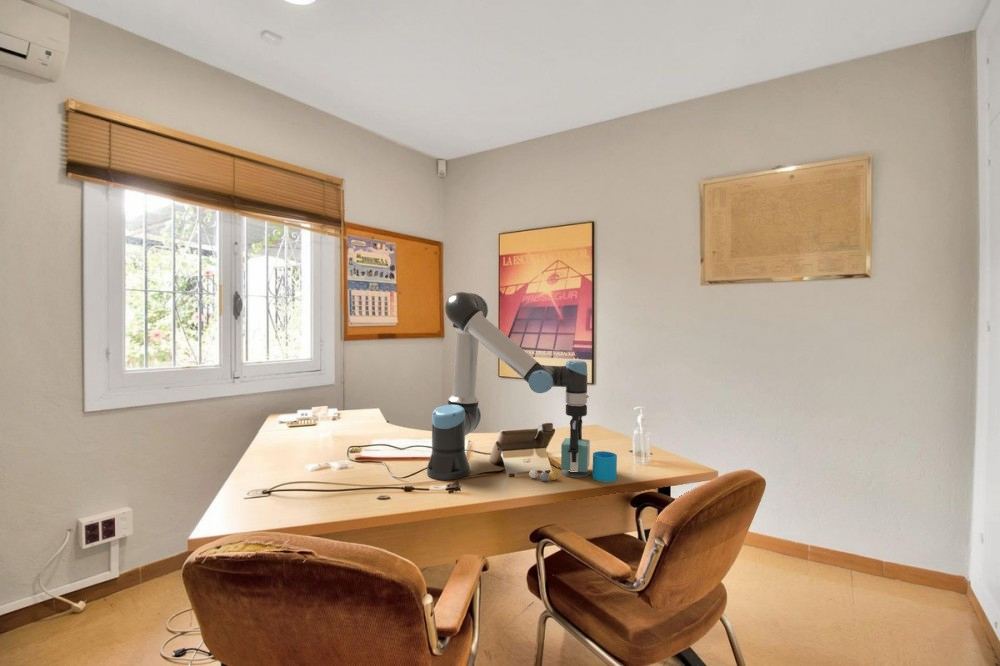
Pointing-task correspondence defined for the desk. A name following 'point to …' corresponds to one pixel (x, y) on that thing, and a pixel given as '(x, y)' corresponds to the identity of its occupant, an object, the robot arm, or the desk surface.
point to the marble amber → (553, 475)
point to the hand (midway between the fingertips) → (575, 466)
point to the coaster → (575, 474)
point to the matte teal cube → (582, 454)
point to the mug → (604, 466)
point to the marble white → (533, 474)
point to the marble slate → (544, 476)
